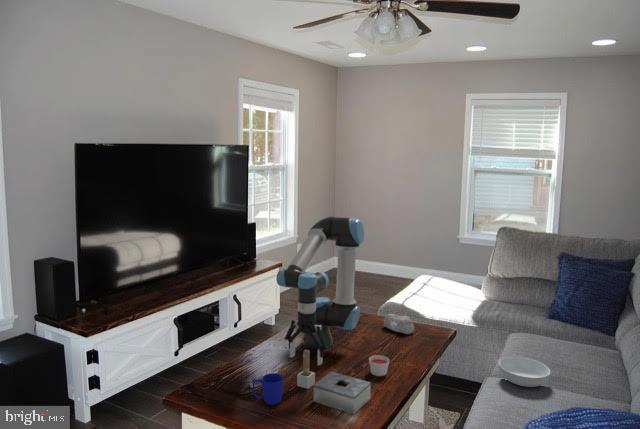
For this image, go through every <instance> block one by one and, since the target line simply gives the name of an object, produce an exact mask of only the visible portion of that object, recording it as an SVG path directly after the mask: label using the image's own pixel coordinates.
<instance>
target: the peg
mask: <svg viewBox="0 0 640 429" xmlns="http://www.w3.org/2000/svg"><path fill="white" fill-rule="evenodd" d="M302 351H303V352H302V371H303V375H304V376H307V377H308V376H309V371H310V353H311V352H310V349H304V350H302Z"/></svg>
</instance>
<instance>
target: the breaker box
mask: <svg viewBox="0 0 640 429" xmlns="http://www.w3.org/2000/svg"><path fill="white" fill-rule="evenodd" d="M371 383H372V382H370V381H367V380H363V379H359V378H357V377H356V378H355V377H353V376H349V375H345V374H341V373H338V372H335V371H330V372H329V373H328V374H326V375H325V376H323V377H322V378H321V379H320V380H318V381H317V382H315V384H314V385H313V402H314V403H317V404H321V405H324V406H327V407H329V408H332V409H336V410H339V411H342V412H345V413H348V414H352V415H355V414H356V413H357V412H358V411H359V410H360V409H361V408H362V407H363V406H365V404H367V403H368V402H369V400H371V385H372V384H371ZM340 385H341V386H344V387H341V386H340Z"/></svg>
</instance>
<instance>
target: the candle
mask: <svg viewBox="0 0 640 429" xmlns="http://www.w3.org/2000/svg"><path fill="white" fill-rule="evenodd" d="M368 361H369V362H368V363H369V368H370V374H372V375H374V376H376V377H384V376H386V375H387V373H388V369H389V364H390V358H389V357H387V356H385V355H378V354H377V355H376V354H375V355H372V356H370V357H369V358H368Z"/></svg>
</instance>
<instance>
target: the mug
mask: <svg viewBox="0 0 640 429" xmlns="http://www.w3.org/2000/svg"><path fill="white" fill-rule="evenodd" d="M251 383H252V391H253V395H254V397H255V398H256V399H260V400H261V399H262V398H263V400H264V403H265V404H267V405H269V406H270V405H271V406H274V405H275V406H276V405H278V404H279V403H281V401H282V397H283V388H284V387H283V385H284V376H283V375H282V374H280V373H276V372H273V373H272V372H271V373H265V375H263V376H262V379H261V378H260V379H258V378H257V379H253V380H252V382H251ZM255 383H260V384H261V387H262V395H257V393H256V388H255Z"/></svg>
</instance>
